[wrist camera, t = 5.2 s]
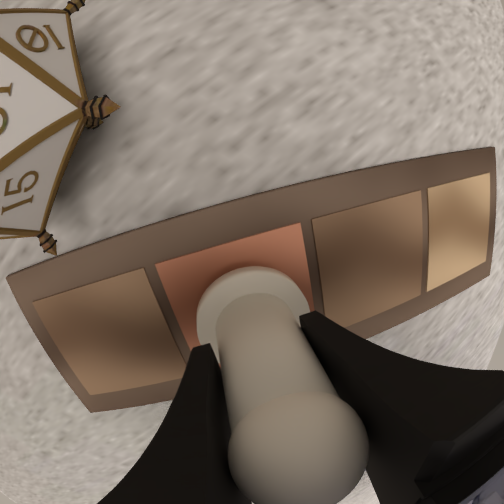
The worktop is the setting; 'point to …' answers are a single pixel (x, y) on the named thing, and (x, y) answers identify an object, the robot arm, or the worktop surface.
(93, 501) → the worktop surface
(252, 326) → the pawn
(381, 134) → the worktop surface
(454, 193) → the board
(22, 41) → the game die
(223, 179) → the worktop surface
